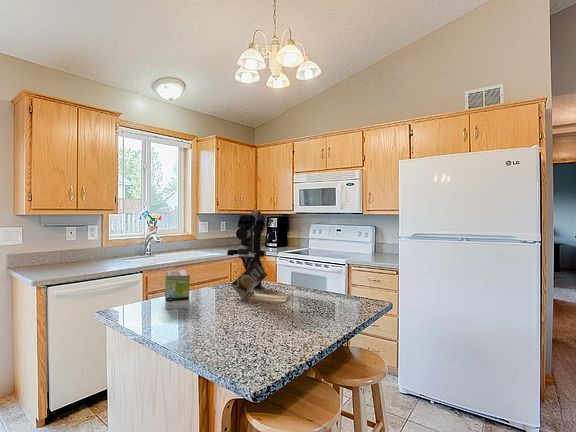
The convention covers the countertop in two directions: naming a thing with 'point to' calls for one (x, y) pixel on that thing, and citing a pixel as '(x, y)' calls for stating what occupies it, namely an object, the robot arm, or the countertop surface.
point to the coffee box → (249, 279)
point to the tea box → (177, 289)
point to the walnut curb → (249, 295)
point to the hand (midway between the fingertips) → (246, 270)
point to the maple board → (268, 298)
